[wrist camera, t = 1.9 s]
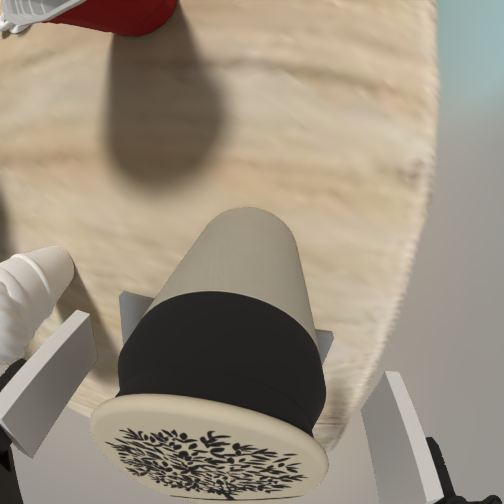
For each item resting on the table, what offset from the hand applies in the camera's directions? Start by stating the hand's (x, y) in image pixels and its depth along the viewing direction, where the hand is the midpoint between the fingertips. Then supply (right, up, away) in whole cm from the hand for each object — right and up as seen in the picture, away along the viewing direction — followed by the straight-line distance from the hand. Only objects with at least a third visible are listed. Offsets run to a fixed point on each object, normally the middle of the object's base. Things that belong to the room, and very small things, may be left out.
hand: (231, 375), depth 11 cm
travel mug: (+1, +5, +12) cm, 13 cm away
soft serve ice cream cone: (-19, +4, +14) cm, 24 cm away
